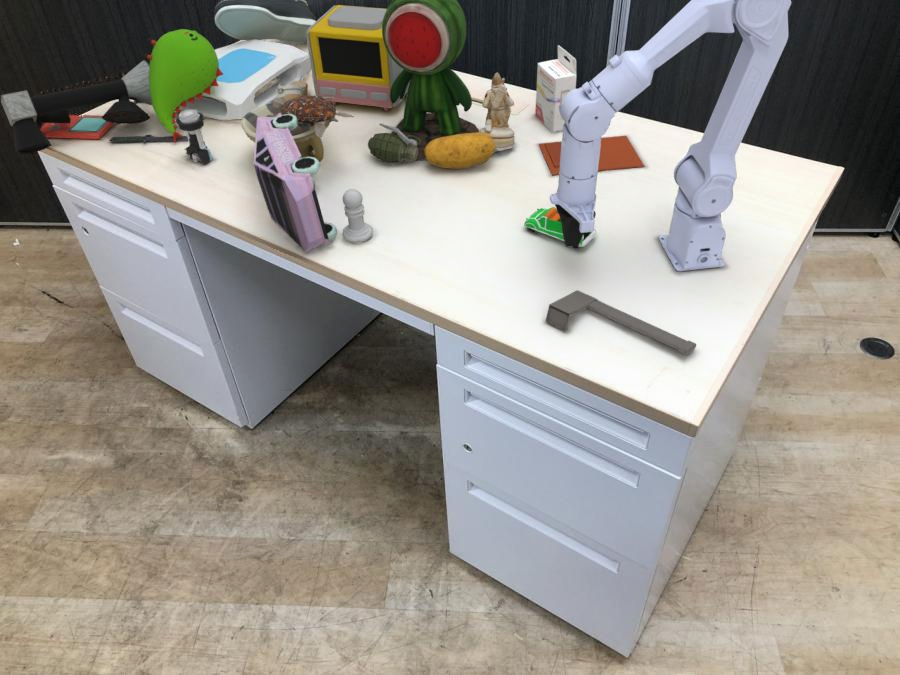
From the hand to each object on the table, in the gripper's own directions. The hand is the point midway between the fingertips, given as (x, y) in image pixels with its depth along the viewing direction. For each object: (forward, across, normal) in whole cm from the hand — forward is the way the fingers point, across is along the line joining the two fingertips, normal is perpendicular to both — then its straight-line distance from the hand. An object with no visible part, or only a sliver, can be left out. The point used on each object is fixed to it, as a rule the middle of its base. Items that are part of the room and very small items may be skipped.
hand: (571, 244), depth 124 cm
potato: (+4, -34, -13) cm, 36 cm away
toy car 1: (-4, -22, -40) cm, 46 cm away
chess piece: (+3, -13, -34) cm, 37 cm away
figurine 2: (+3, -40, -5) cm, 40 cm away
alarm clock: (+4, -67, -30) cm, 74 cm away
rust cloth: (+3, -33, +12) cm, 35 cm away
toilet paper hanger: (+4, +19, +2) cm, 20 cm away
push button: (+4, -46, -65) cm, 80 cm away
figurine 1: (+3, -46, -18) cm, 49 cm away
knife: (+3, -54, -76) cm, 93 cm away
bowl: (+4, -42, -46) cm, 62 cm away
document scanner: (+4, -76, -59) cm, 96 cm away
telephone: (-1, -68, -77) cm, 103 cm away
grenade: (-1, -40, -31) cm, 51 cm away
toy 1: (-7, -62, -75) cm, 98 cm away
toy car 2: (+4, -8, 0) cm, 9 cm away
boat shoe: (-4, -92, -51) cm, 106 cm away
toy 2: (-3, -37, -35) cm, 51 cm away
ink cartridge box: (+4, -48, +8) cm, 49 cm away
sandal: (+4, -66, -48) cm, 82 cm away
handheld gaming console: (+3, -66, -101) cm, 121 cm away
